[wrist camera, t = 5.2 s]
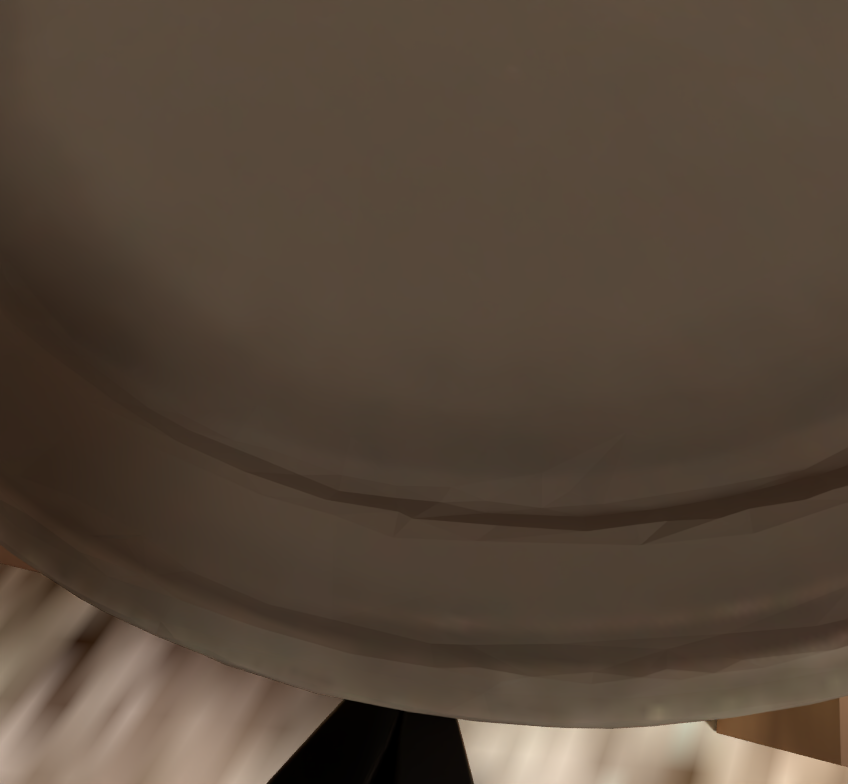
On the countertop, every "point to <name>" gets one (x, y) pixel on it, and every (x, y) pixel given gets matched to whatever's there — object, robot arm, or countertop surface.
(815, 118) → the coffee can
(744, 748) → the countertop surface
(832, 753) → the brown tray
